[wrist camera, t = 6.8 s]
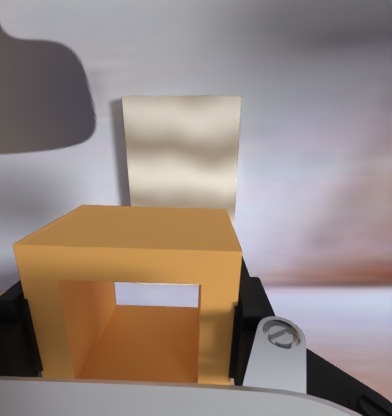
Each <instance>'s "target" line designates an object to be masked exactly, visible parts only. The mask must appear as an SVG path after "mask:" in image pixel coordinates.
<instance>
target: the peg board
mask: <svg viewBox="0 0 392 416" xmlns="http://www.w3.org/2000/svg"><path fill="white" fill-rule="evenodd" d="M122 106H123V118H124V130H125V142H126V153H127V165H128V177H129V189H130V201H131V206H138V207H172V208H207V209H227V212H228V215H229V217H230V220H231V223H232V225H233V228H234V222H235V204H236V185H237V167H238V149H239V131H240V112H241V96H122ZM137 284H166V283H137ZM178 285H197V284H178Z"/></svg>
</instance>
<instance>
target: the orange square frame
mask: <svg viewBox="0 0 392 416" xmlns="http://www.w3.org/2000/svg"><path fill="white" fill-rule="evenodd" d="M13 249H14V253H15V258H16V262H17V267H18V271H19V275H20V280H21V284H22V289H23V293H24V297H25V299H28V304H29V308H30V313H31V317H32V322H33V326H34V330H35V335H36V339H37V344H38V348H39V353H40V357H41V362H42V366H43V371H41V372H42V377H43V378H71V379H99V380H127V381H151V382H176V383H200V384H218V385H230V380H231V378H229V377H228V376H229V365H230V354H231V343H232V332H233V320H234V309H235V306H237V305H238V294H239V283H240V273H241V262H242V249H241V246H240V244H239V241H238V238H237V236H236V233H235V231H234V228H233V225H232V223H231V220H230V217H229V215H228V212H227V209H207V208H172V207H138V206H103V205H82V206H80V207H78V208H76V209H75V210H73V211H71V212H69V213H68V214H66V215H64V216H62V217H60V218H59V219H57V220H55V221H53V222H52V223H50V224H48V225H46V226H45V227H43V228H41V229H39V230H38V231H36V232H34V233H32V234H30V235H29V236H27V237H25V238H23V239H22V240H20V241H18V242H16V243H15V244H13ZM114 282H134V283H166V284H197V285H199V300H198V308H196V307H166V306H135V305H116V296H115V285H114Z"/></svg>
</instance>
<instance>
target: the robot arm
mask: <svg viewBox="0 0 392 416" xmlns="http://www.w3.org/2000/svg"><path fill="white" fill-rule="evenodd" d="M41 371H43V366H42V362H41V357H40V353H39V348H38V344H37V339H36V335H35V330H34V326H33V322H32V317H31V313H30V308H29V304H28V299H25V297H24V293H23V289H22V284H21V280H20V281H18V282H17V283H16V284H15V285H13V286H12V287H11V288H10V289H8V290H7V291H6V292H5V293H3V294H2V295H1V296H0V416H392V403H391V402H390V401H389V400H387V399H386V398H384V397H383V396H382V395H380V394H379V393H377V392H376V391H374V390H372V389H371V388H369V387H368V386H366V385H364V384H363V383H361V382H360V381H358V380H356V379H355V378H353V377H352V376H350V375H349V374H347V373H345V372H344V371H342V370H341V369H339V368H337V367H336V366H334V365H333V364H331V363H329V362H328V361H326V360H325V359H323V358H321V357H320V356H318V355H317V354H315V353H313V352H312V351H310V350H309V349H307V348H306V338H305V335H304V333H303V332H302V330H301V329H300V328H299V327H298V326H297V325H296V324H294V323H293V322H291V321H290V320H287V319H285V318H282V317H277V316H275V314H274V312H273V309H272V307H271V304H270V302H269V300H268V297H267V295H266V293H265V290H264V288H263V286H262V283H261V281H260V279H259V278H258V277H250V276H249V273H248V270H247V268H246V265H245V262H244V259H243V257H242V262H241V273H240V283H239V294H238V305H237V306H235V309H234V320H233V332H232V343H231V354H230V365H229V376H228V377H229V378H234V384H235V385H218V384H200V383H176V382H151V381H127V380H99V379H71V378H41V377H37V375H38V374H39V372H41Z"/></svg>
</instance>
